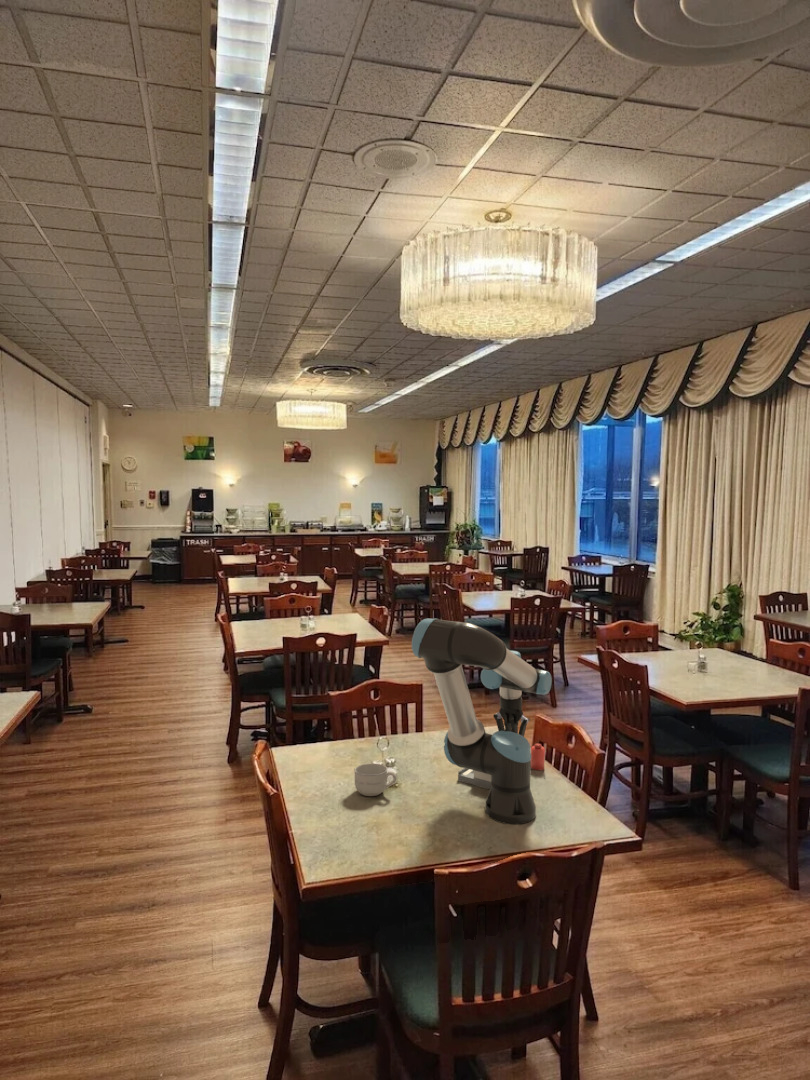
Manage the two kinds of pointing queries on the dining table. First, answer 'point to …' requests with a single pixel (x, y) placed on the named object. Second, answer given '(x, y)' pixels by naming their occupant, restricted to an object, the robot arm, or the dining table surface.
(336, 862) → the dining table surface
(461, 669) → the robot arm
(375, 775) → the teacup
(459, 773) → the panel
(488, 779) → the cream square open box
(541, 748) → the red cylinder with knob
